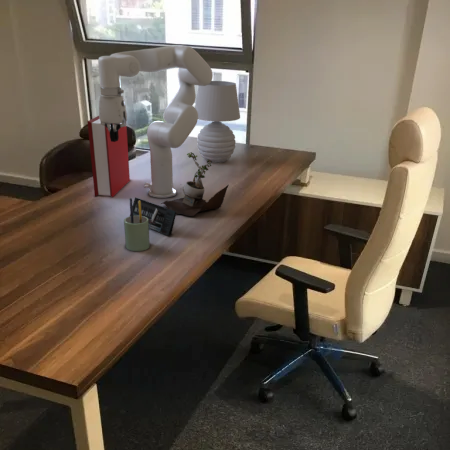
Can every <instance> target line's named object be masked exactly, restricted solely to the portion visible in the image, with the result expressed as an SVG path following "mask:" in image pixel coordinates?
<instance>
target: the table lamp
mask: <svg viewBox="0 0 450 450" xmlns="http://www.w3.org/2000/svg"><path fill="white" fill-rule="evenodd" d="M196 91H197V92H196V99H195V102H194V107H195V109H196V110H197V112H198V121H199V120H200V121H205V122H210V123H208V124H206V125H204V126H203V127H202V128H201V129H200V131H199V133H198V134H197V139H196V143H197V144H196V148H197V150H198V154H200V155H201V157H202V158H203V159H204V160H205V161H206V162H207V161H208V160H210V161H212V163H224V162H226V161H227V160H229V159H230V158H231V157H232V155H233V154H234V152H235V149H236V143H237V141H236V135H235V134H234V132H233V130H232V129H231V128H230V126H228V125H227V124H225V123H223V122H235V121H238V120H240V119H241V112H240V104H239V98H238V96H239V95H238V90H237V83H236V82H234V81H233V82H232V81H227V80H226V81H225V80H212V81H211V82H210V84H208V85H206V86H198V85H197V90H196Z"/></svg>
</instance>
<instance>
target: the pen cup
mask: <svg viewBox="0 0 450 450" xmlns="http://www.w3.org/2000/svg"><path fill="white" fill-rule="evenodd" d="M138 204H139V216H133V198H132V197H129V213H130V214H129V216H127V217H125V218H124V219H123V229H124V239H125V240H124V241H125V248H126V249H127V250H128V251H130V252H131V251H132V252H143V251H146V250H148V249H149V248H150V247H151V242H150V228H149V220H148V218H147V217H144V216H142V215H141V201H140V200H139V201H138ZM130 215H131V216H130Z"/></svg>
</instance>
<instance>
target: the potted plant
mask: <svg viewBox="0 0 450 450" xmlns="http://www.w3.org/2000/svg"><path fill="white" fill-rule="evenodd" d="M186 156H187V157H188V158H192V160H193V162H194V164H195V165H196V166H197V168H198V169H197V171H195V173H194V176H193V178H192V180H191V181H190V180H189V181H186V182H185V185H184V188H183V189H182V192H183V194H184V197H178V198H175V199H172V200H164V201H163V202H161V203H160V205H162V204H163V205H164V206H165V208H167V209H170V210H173V211H176V215H184V216H186V217H194V216H195V215H196V214H198V213H200V212H204V211H209V210H218V209H221V207H222V205H223V202H224V200H225V197H226V193H227V190H228V187H229V186H230V185H229V184H227V185H226V186H225V187H223V188H221V189H220V190H219V191H217V192H216V193H215V194H214V195H213V196H212V197H210V198H209V199H208V201H206V199H204V194H205V186H204V184H203V181H202V179H205V178H206V176H205V175H206V173H207V171H209V167H212V164H213V162H212V161H210V160H208V161H207V160H206V163H207V164H205V165H201V166H200V164H199V162H197V160H198V159H197V157H198V155H195V153H194V152H192V151H191V152H188V153H187V154H186Z"/></svg>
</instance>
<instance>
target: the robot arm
mask: <svg viewBox="0 0 450 450" xmlns="http://www.w3.org/2000/svg"><path fill="white" fill-rule="evenodd" d="M97 65H98V75H99V86H100V95H99V99H98V116H99V118H100V121H101V125H104V126H106V127H107V128H108V131H110V139H111V142H116V141H118V139H119V135H118V130H119V129H120V128H121V127H125V126H126V127H127V121H128V113H127V105H126V101H125V97H124V95H122V94H124V93H125V90H124V89H122V87H121V77H125V78H133V77H136V76H137V75H138V74H139V73H140V72H146V73H158V72H162V71H167V70H173V69H178V70H177V78H178V89H177V91H176V93H175V95H174V96H173V98H172V99H171V100H170V102H168V105H167V106H166V107H165V109H164V111H163V115H162V116H163V120H164V121H161V120H155V121H152V122H151V123H149V125H148V126H147V130H146V137H147V141H148V145H149V154H150V158H149V159H150V179H151V182H147V181H146V182H144V183H143V187H144V189H148V196H150V197H152V198H156V199H157V198H158V199H167V198H172V197H174V196H176V195H177V190H176V189H174V178H173V176H174V175H173V173H174V172H173V152H172V149H178V148H180V147H181V146H182V145H183V144H184V143H185V142H186V141H187V139H188V137H189V136H190V134H191V133H192V132H193V130H194V129H195V127H196V126H197V123H198V121H199V119H198V112H197V110H196V109H195V106H194V105H195V103H196V97H197V93H196V88H195V86H197V87H198V86H206V85H208V84H210V82H211V81H213V78H214V77H213V75H214V74H213V70H212V68H211V66H210V65H209V63H208V62H206V59H204V58H203V57H202V56H201V55H200V53H198V51H196V50H195V48H192V47H191V46H188V45H180V44H171V45H166V46H160V47H154V48H153V47H152V48H144V49H137V50H136V49H135V50H127V51H126V50H125V51H120V52H115V53H111V54H110V55H101V56H99V57H98V59H97ZM113 123H114V126H113Z"/></svg>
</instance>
